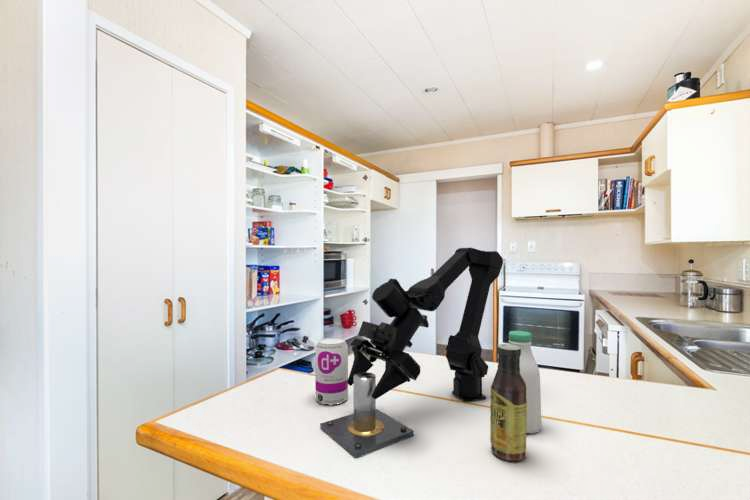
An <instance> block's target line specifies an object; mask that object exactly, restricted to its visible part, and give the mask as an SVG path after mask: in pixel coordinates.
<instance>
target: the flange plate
mask: <svg viewBox="0 0 750 500" xmlns="http://www.w3.org/2000/svg"><path fill="white" fill-rule="evenodd" d="M319 428H320V429H321V430H322V432H324V433H325V434H327V435H328V437H330V438H331V439H332V440H333V441H335V442H336V443H337V444H338V445H340V447H341V448H342V449H344V451H345V450H346V452H347V453H348V454H350V455H351V456H352V457H353V458H355V459H357V458H361V457H362V456H365V455H367V454H370V453H372V452H373V453H374V452H375V451H378V450H380V449H383V448H386V447H388V446H390V445H393V444H396V443H398V442H399V443H400V442H402V441H403V440H406V439H409V438H412V437H414V436H415V430H413V429H412V428H410V427H408V426H407V425H405V424H404V423H401V422H400V421H398V420H397V419H395V418H394V417H391V416H390V415H388V414H387V413H385V412H383V411H381V410H380V409H377V408H376V428H375V429H374V430H373V431H370V432H358V431H356V430H355V429H354V428H353V413H351V414H348V415H344V416H341V417H337V418H334V419H331V420H327V421H324V422H321V423H320V426H319ZM413 435H414V436H413ZM411 436H412V437H411Z"/></svg>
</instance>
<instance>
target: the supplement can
mask: <svg viewBox="0 0 750 500" xmlns="http://www.w3.org/2000/svg"><path fill="white" fill-rule="evenodd" d="M314 374H315V400H316V401H317V402H318V401H319V402H320V403H323V404H337V403H341V402H343V401H344V402H346V400H348V397H349V384H347V381H348V378H349V346H348V344H347V341H346V339H345V338H340V337H326V338H320V339H319V340H318V341H317V343H316V346H315V373H314ZM319 402H318V403H319ZM344 402H343V403H344ZM320 403H319V404H320ZM323 404H322V405H323ZM341 404H342V403H341Z"/></svg>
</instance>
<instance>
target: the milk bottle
mask: <svg viewBox="0 0 750 500" xmlns="http://www.w3.org/2000/svg"><path fill="white" fill-rule="evenodd" d="M532 336H533V335H532V333H531V332H529V331H524V330H510V331H509V332H508V343H509V344H512V345H517V346H519V347H520V348H521V355H520V375H521V376H522V378H523V380H524V382H525V384H526V400H527V428H526V433H533V434H536V433H535V432H537V431H538V432H540V430H541V428H542V403H541V402H542V396H541V395H542V393H541V392H542V391H541V374H540V369H539V366H538V363H537V360H536V358H535V356H534V354H533V352H532V347H531V345H532V343H533V342H532V340H533V337H532ZM538 432H537V433H538Z"/></svg>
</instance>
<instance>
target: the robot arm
mask: <svg viewBox="0 0 750 500" xmlns="http://www.w3.org/2000/svg"><path fill="white" fill-rule="evenodd" d="M503 264H504V259H503V257H502V255H501V254H500V253H499V252H498V251H496V250H491V251H490V250H489V251H488V250H487V251H486V250H480V249H477V248H474V247H459V248H457V249H456V250H455V252H454V254H453V255H451V256H450V257H449V258H448V259H447V260H446V261H445V262H444V263H443V264H442V265H441V266H440V267H439V268H438V269H437V270H436V271H435V272H434V273H433V274H432V275H431V276H429V277H427V278H424V279H421V280H419V281H417V282H416V283H414V284H413V285H411V286H410V287H409V288H408V290H404V288H403V287H402V286H401V283H400V282H399V281H398V279H397V278H389V279H388V281H387V282H384V283H383V284H380V286H378V287H376V288H375V290H373V292H372V295H371V298H372V299H371V300H373V301H374V303H375V304H376V305H377V306H378V307H379V308H380V309H381V311H382V312H383V313H384V314H385V315H386V316H387V317H388V318H393V320H391V322H390V323H387V322H384V321H382V322H381V323H379V325H378V324H375V323H372V322H368V321H366V320H365V321H364V320H363V321H362V323H361V325H360V327H359V331H358V332H357V333H358V334H357V335H358V336H360V337H355V338H354V339H353V340H352V341H351V343H350V346H351V351H352V352H353V358H354V359H353V363H352V367H351V370H350V371H349V374H348V381H347V384H348V386H352V385H354V375H355V374H357V373H362V372H368V371H369V370H370V369H372V367H373V366H374V364H373V363H374V362H377V360H380V361H383V362H385V368H384V372H383V374H382V376H381V377H380V379H379V381H378V383H377V384H376V387H375V389H374V391H373V393H372V398H374V399H376V400H377V399H379V398H380V397H382V396H383V395H385V394H386V393H388V392H390V391H392V390H394V389H395V388H397V387H399V386H401V385H403V384H405V383H407V382H408V383H410V382H411V380H413V381H417V379H418V378H419V376H420V374H421V365H420V364H419V363H418V362H417V361H416V360H415V358H413V356H412V355H410V353H409V352H405V349H406V348H407V347H408V348H411V347H412V346H413V343H412V341H411V340H412V339H413V337H414V336H415V334H416V332H417V331H418V329H419V328H420V327H423V328H425V329H426V328H429V327H430V326H429V325H430V324H429V320H428V315H425V314H422V313H421V311H426V312H435V311H436V310H437V309H438V308H439V307H440V305H441V304H442V302H443V301H444V299H445V295H446V291H447V290H448V288H449V287H450V286H451V285H452V284H453V283H454V282H455V281H456V280H457V279H458V278H459V277H460V276H461V275H462V273H464V272H465V271H466V270H467V269H468V272H469V275H470V278H471V282H470V286H469V290H468V294H467V298H466V303H465V307H464V310H463V314H462V318H461V323H460V326H459V330H458V331H457V333H456V334H455V335H453V334H451V335H449V337H448V338H447V339H448V341H447V345H446V348H445V358H446V360H447V363H448V367H449V370H451V371H454V377H453V383H452V384H453V390H451V394H453V395H454V396H455V397H457V398H458V399H460V400H461V401H463V402H465V403H466V402H472V401H473V402H474V401H479V400H485V399H487V396H486V395H484V394H483V378H485V376H487V375H488V371H489V365H488V364H487V363H486V361H485V359H483V357H482V350H483V349H482V345H481V342H480V339H479V335H480V330H481V325H482V321H483V318H484V313H485V309H486V304H487V301H488V296H489V291H490V288H491V285H492V283H494V281H495V280H496V279H497V278H498V277H499V276H500V274H501V270H502V269H503ZM420 310H421V311H420ZM362 337H364V338H362ZM366 338H367V339H366ZM368 339H369V340H370V341H369V340H368Z"/></svg>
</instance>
